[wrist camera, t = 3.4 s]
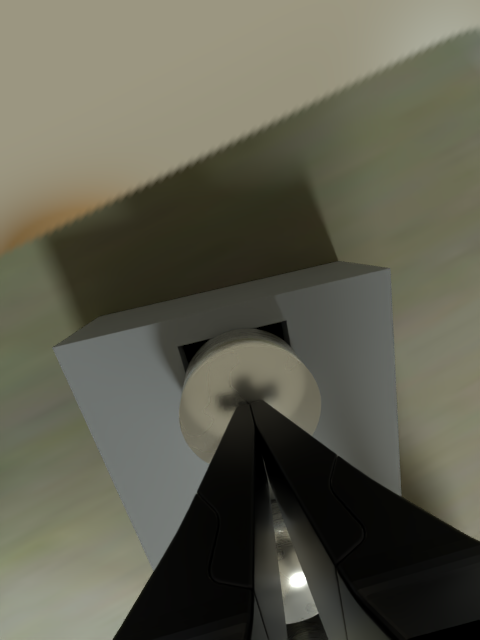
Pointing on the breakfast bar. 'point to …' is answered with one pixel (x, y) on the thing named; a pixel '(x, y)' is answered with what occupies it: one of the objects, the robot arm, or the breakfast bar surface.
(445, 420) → the breakfast bar surface
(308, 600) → the knob middle
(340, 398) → the mount
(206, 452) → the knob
